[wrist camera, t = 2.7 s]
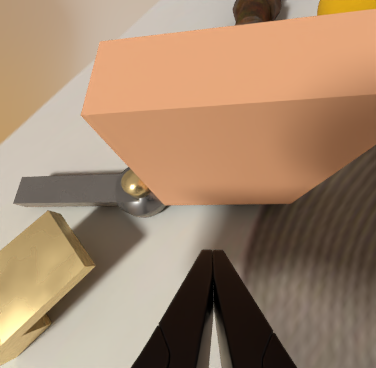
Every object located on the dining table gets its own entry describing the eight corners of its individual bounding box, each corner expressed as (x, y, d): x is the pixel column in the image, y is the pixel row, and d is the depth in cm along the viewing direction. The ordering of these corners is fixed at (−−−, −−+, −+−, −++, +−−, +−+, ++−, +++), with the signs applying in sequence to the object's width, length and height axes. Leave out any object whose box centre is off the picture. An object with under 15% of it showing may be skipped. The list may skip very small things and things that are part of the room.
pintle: (151, 198, 15) (146, 193, 14) (126, 198, 15) (119, 194, 14) (153, 174, 15) (149, 167, 14) (129, 174, 16) (123, 168, 15)
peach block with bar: (286, 217, 14) (473, 113, 4) (22, 218, 17) (-275, 156, 7) (277, 163, 16) (397, -10, 6) (37, 172, 19) (-187, 64, 8)
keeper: (80, 219, 17) (48, 210, 14) (112, 264, 15) (84, 266, 12) (-9, 298, 15) (-70, 309, 12) (16, 357, 14) (-47, 389, 10)
